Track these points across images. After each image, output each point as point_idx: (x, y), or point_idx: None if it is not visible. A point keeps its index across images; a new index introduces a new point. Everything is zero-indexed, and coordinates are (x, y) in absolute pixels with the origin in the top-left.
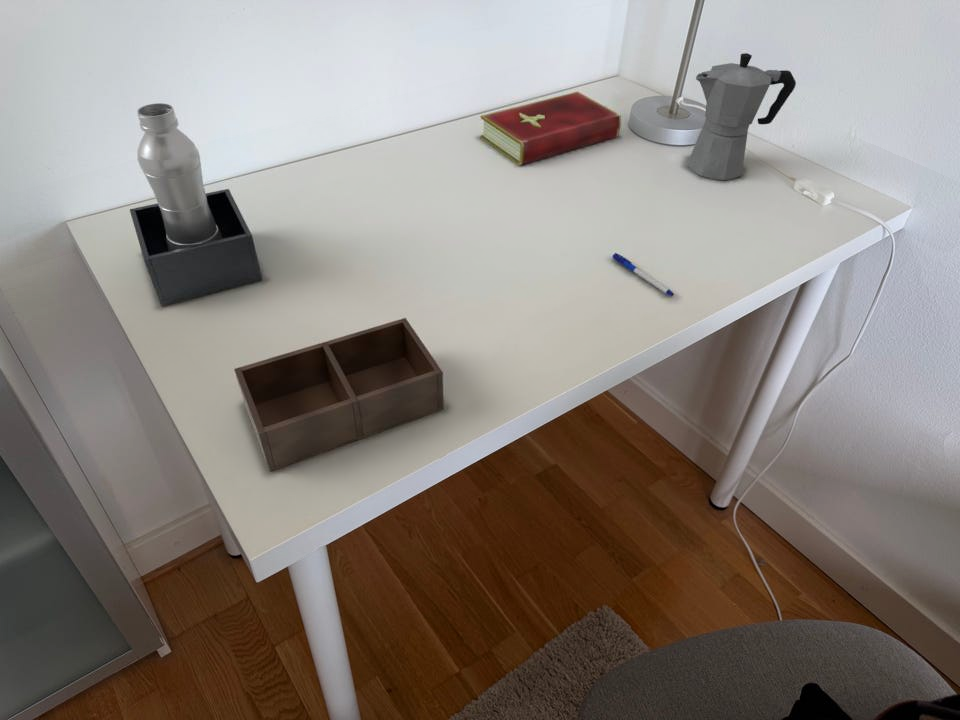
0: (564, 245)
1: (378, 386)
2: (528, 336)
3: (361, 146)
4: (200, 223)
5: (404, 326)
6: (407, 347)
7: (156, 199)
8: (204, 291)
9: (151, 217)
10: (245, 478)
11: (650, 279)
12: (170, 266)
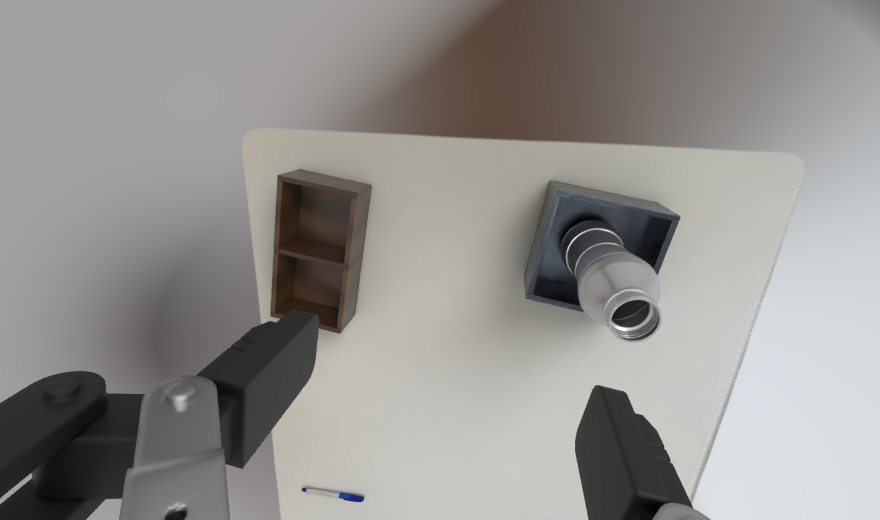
0: (401, 486)
1: (331, 277)
2: (323, 391)
3: (693, 484)
4: (571, 266)
5: (333, 326)
6: (337, 316)
7: (611, 244)
8: (538, 224)
9: (661, 231)
10: (303, 151)
11: (322, 493)
12: (548, 209)
